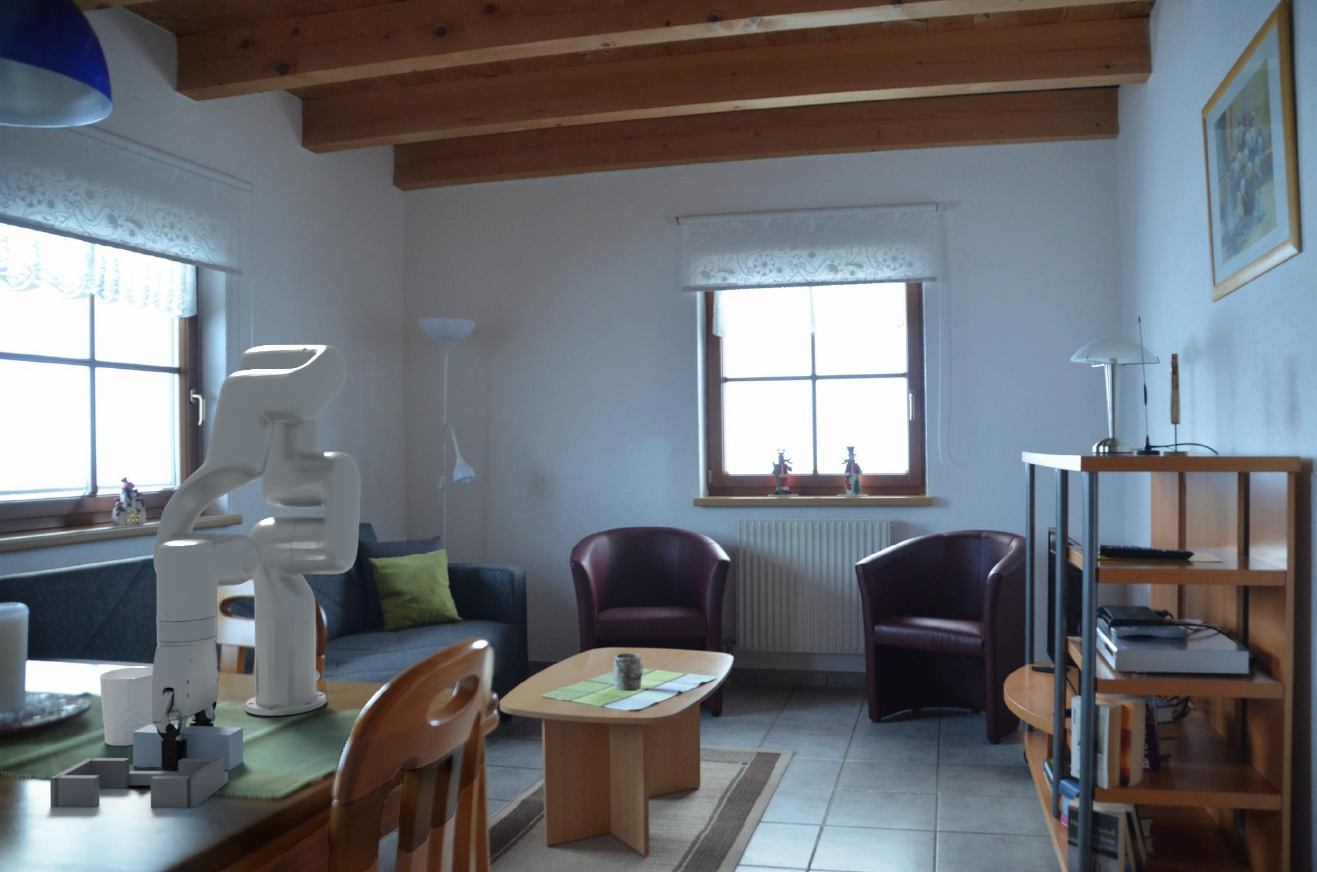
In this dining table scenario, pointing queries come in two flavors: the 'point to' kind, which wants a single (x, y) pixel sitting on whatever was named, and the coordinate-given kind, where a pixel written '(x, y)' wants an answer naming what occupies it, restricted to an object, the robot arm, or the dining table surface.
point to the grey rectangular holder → (138, 782)
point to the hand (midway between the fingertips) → (188, 759)
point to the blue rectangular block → (191, 745)
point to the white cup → (125, 703)
